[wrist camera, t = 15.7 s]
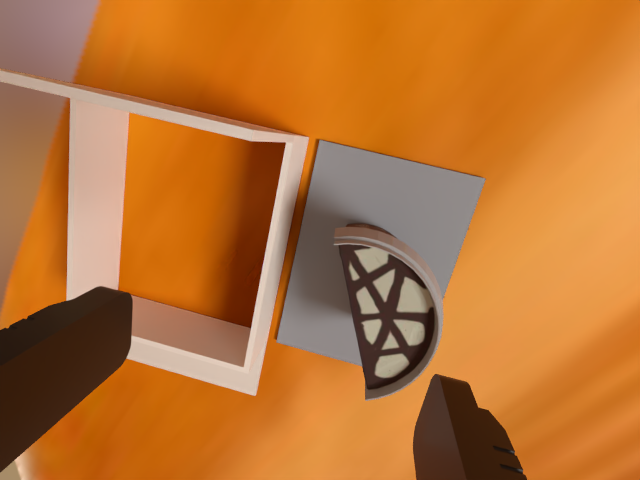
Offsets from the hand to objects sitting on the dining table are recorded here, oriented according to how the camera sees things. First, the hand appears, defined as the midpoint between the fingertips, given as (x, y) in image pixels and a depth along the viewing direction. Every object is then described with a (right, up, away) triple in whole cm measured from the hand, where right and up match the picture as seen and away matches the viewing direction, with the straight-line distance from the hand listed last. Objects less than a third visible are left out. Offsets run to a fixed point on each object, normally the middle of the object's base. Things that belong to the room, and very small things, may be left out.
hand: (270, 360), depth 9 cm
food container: (+8, +1, +23) cm, 24 cm away
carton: (-11, +1, +26) cm, 28 cm away
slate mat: (+6, +1, +23) cm, 24 cm away
